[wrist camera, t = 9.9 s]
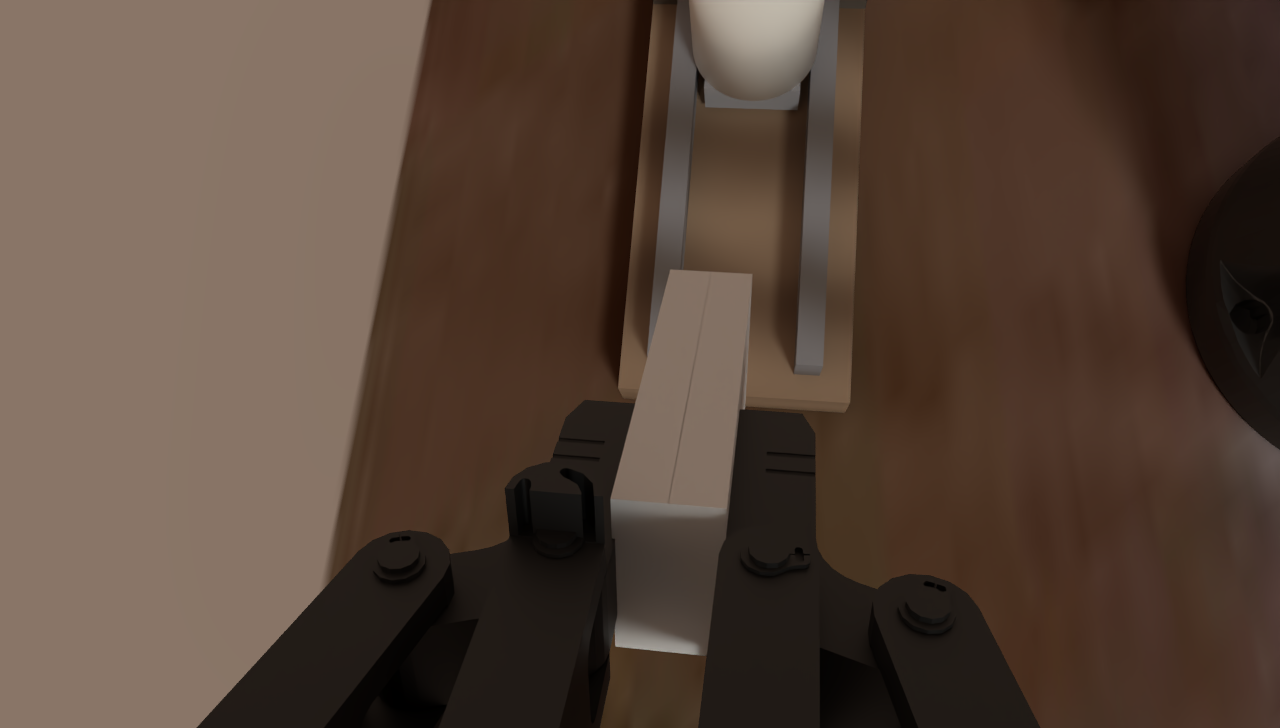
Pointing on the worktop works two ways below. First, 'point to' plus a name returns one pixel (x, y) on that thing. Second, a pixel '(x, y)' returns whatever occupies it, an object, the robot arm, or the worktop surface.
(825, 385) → the knob mount
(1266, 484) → the worktop surface
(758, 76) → the knob
